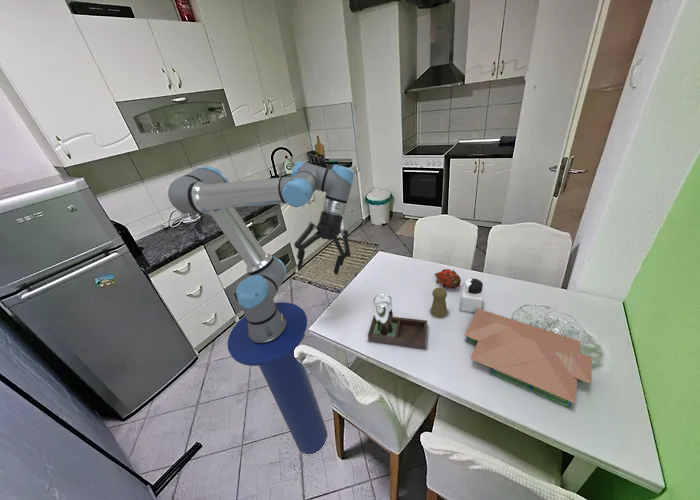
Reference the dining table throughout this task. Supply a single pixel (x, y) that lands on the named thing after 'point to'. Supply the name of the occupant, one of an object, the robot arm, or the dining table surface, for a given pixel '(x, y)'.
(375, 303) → the beer glass
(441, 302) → the salt shaker
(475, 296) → the medicine bottle
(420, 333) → the caddy
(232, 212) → the robot arm
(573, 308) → the dining table surface
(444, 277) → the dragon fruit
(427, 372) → the dining table surface
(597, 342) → the dining table surface
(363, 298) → the dining table surface
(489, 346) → the house
